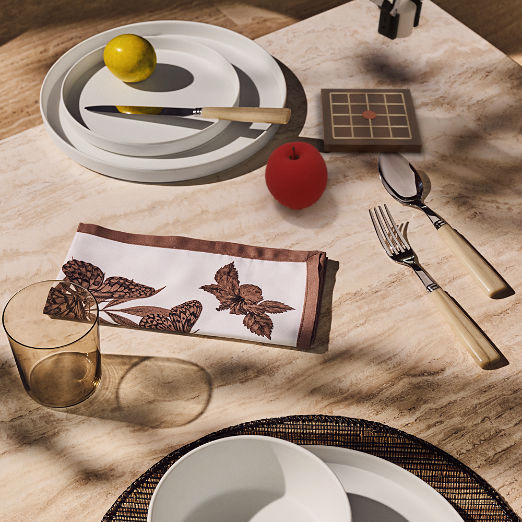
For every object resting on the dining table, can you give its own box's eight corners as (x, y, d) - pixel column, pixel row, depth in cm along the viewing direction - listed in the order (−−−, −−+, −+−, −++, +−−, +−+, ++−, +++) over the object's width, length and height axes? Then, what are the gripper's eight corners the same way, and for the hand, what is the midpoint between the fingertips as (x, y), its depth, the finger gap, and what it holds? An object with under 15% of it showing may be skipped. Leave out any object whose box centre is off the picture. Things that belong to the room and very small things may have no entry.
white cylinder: (410, 23, 105) (414, -2, 102) (413, 38, 102) (418, 13, 99) (381, 23, 105) (385, -2, 102) (384, 38, 102) (387, 13, 99)
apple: (337, 210, 97) (342, 155, 90) (278, 226, 95) (279, 172, 88) (311, 171, 103) (315, 116, 96) (255, 185, 101) (254, 131, 94)
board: (408, 96, 116) (410, 88, 115) (420, 152, 106) (422, 144, 105) (320, 95, 116) (320, 87, 115) (323, 152, 106) (324, 143, 105)
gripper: (398, -71, 84) (380, 60, 98) (478, -108, 92) (451, 19, 105) (353, -88, 88) (341, 40, 101) (433, -122, 95) (413, 2, 109)
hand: (398, 28), depth 103 cm, fingers closed on white cylinder, 4 cm apart
